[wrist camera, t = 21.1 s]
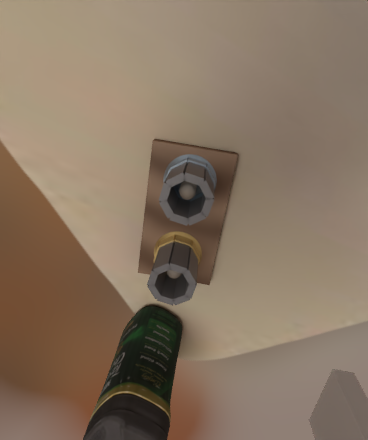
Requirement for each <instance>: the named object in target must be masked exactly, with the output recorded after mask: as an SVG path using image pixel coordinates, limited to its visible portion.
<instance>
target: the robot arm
mask: <svg viewBox="0 0 368 440" xmlns="http://www.w3.org/2000/svg"><path fill="white" fill-rule="evenodd" d="M309 422H310V425H311V428H312V431H313V434H314V437H315V440H368V398H367V397H366V395H365V393H364V391H363V389H362V387H361V385H360V384H359V382H358V380H357V378H356V376H355V374H354V373H352V372H347V371H341V370H335V369H333V370H332V372H331V374H330V376H329V378H328V380H327V383H326V385H325V387H324V389H323V391H322V393H321V395H320V398H319V400H318V402H317V404H316V406H315V408H314V411H313V413H312V415H311V417H310V419H309Z"/></svg>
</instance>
